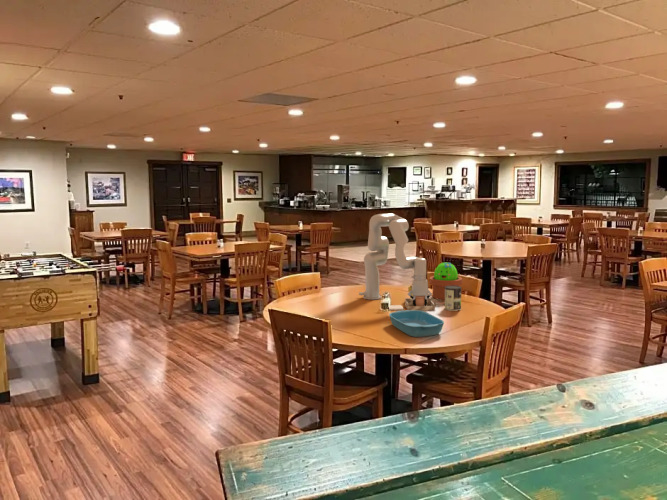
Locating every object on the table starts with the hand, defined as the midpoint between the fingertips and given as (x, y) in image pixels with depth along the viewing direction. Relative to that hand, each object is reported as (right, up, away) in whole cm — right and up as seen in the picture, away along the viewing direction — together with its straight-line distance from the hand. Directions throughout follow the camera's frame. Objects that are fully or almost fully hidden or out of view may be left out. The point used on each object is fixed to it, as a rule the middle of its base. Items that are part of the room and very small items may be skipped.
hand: (419, 305), depth 333 cm
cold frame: (0, -2, 0) cm, 2 cm away
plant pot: (+1, +1, +19) cm, 19 cm away
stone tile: (-15, -2, 0) cm, 15 cm away
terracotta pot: (0, -2, 0) cm, 2 cm away
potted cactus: (+22, +2, +29) cm, 37 cm away
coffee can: (+20, -2, -3) cm, 21 cm away
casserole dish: (-10, -9, -47) cm, 48 cm away
